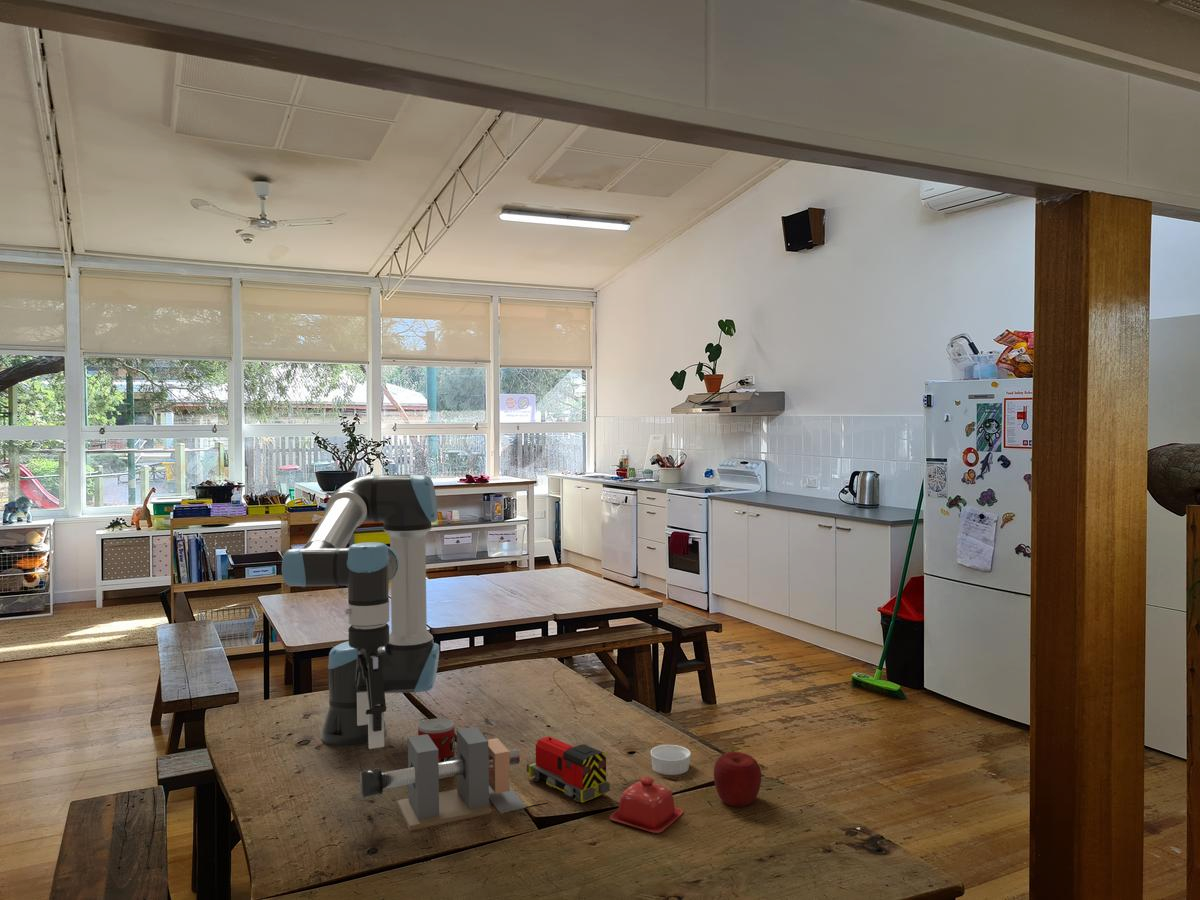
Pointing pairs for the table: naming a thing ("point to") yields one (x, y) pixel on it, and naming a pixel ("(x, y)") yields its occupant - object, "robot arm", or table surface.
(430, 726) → the canned food
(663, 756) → the ramekin
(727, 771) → the apple
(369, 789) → the shaft
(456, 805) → the bearing frame
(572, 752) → the toy train
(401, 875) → the table surface
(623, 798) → the butter dish
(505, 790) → the block
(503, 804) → the mat
